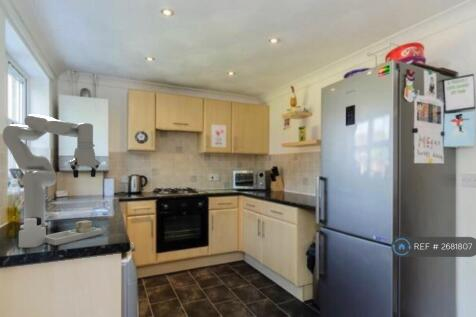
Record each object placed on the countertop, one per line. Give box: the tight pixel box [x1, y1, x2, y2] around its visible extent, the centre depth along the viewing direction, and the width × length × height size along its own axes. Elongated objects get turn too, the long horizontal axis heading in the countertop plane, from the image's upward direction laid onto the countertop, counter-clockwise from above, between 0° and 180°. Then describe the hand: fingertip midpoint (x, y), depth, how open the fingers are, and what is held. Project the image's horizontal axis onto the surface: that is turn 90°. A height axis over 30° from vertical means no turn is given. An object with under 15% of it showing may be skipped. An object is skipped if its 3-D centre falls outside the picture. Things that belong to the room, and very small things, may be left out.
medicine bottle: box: [18, 217, 47, 249], centre depth 122 cm, size 7×7×12 cm
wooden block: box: [75, 220, 93, 233], centre depth 139 cm, size 5×5×6 cm
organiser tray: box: [45, 226, 103, 246], centre depth 134 cm, size 12×22×2 cm, turn 151°
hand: (84, 177), depth 152 cm, fingers open, 9 cm apart
